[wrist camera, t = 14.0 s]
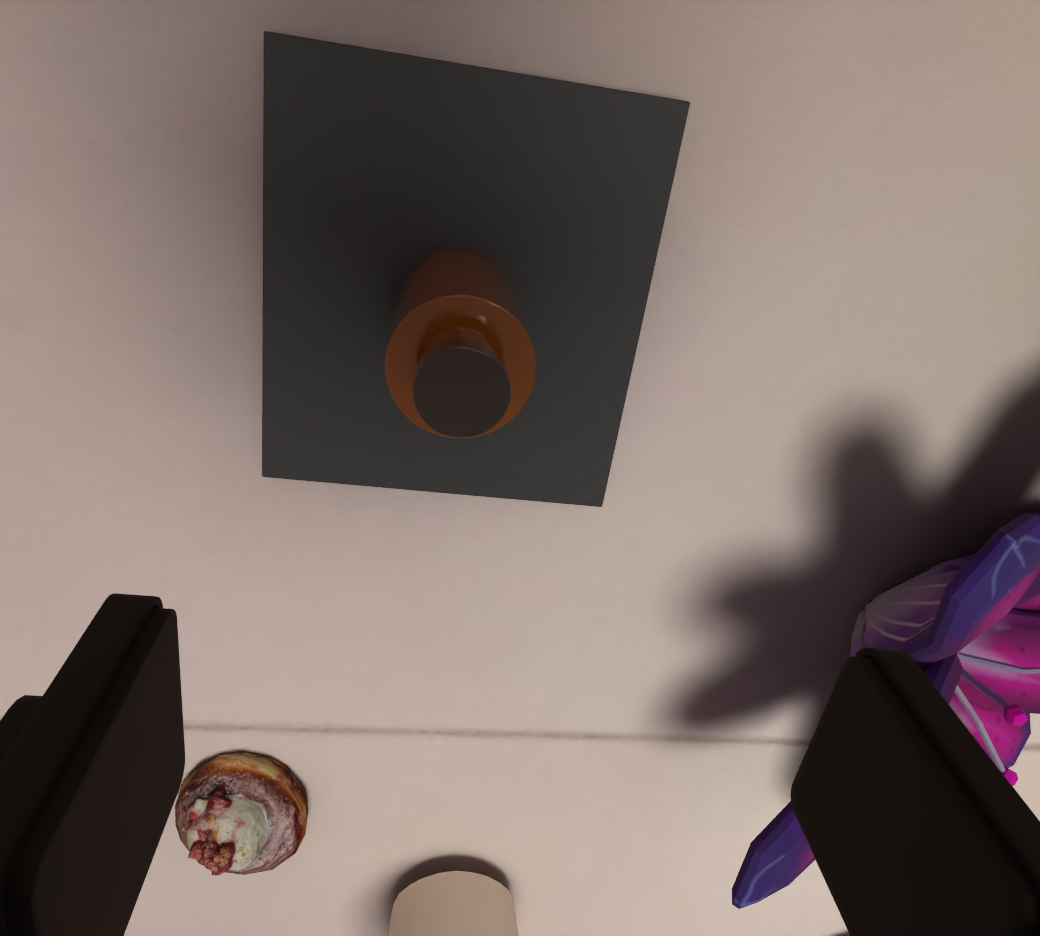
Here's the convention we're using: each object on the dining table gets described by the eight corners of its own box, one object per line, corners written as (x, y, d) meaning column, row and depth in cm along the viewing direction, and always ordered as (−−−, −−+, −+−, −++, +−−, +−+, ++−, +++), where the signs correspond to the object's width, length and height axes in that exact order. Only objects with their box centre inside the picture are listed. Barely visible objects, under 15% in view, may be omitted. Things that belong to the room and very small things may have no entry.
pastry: (208, 733, 43) (180, 809, 39) (334, 774, 45) (322, 850, 41) (160, 825, 46) (129, 905, 42) (281, 859, 48) (264, 939, 44)
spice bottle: (403, 239, 31) (385, 303, 22) (525, 255, 32) (555, 323, 23) (393, 357, 34) (373, 459, 24) (508, 370, 34) (530, 474, 25)
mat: (269, 32, 29) (263, 30, 28) (683, 101, 31) (690, 102, 30) (266, 467, 36) (261, 477, 36) (598, 497, 39) (602, 507, 38)
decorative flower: (1171, 339, 43) (1398, 429, 36) (906, 719, 58) (1031, 835, 51) (812, 315, 27) (1097, 469, 20) (572, 849, 42) (688, 1045, 35)
